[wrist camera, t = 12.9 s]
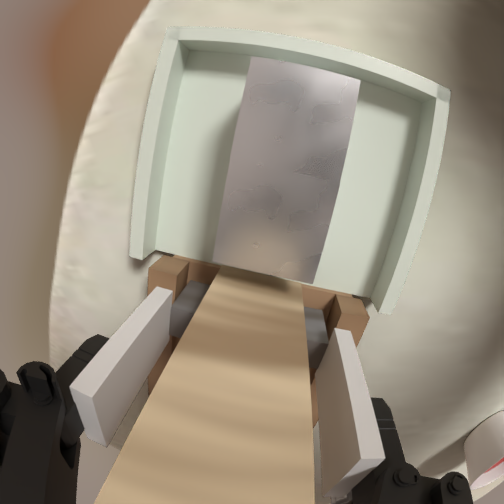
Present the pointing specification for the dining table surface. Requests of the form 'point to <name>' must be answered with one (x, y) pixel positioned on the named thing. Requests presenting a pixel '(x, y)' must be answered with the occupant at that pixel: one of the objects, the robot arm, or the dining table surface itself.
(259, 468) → the tapered wooden board
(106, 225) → the dining table surface
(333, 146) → the grey cube
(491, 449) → the white round cup
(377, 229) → the tray
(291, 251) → the pinkish grey cube
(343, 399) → the robot arm
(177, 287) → the slot board
